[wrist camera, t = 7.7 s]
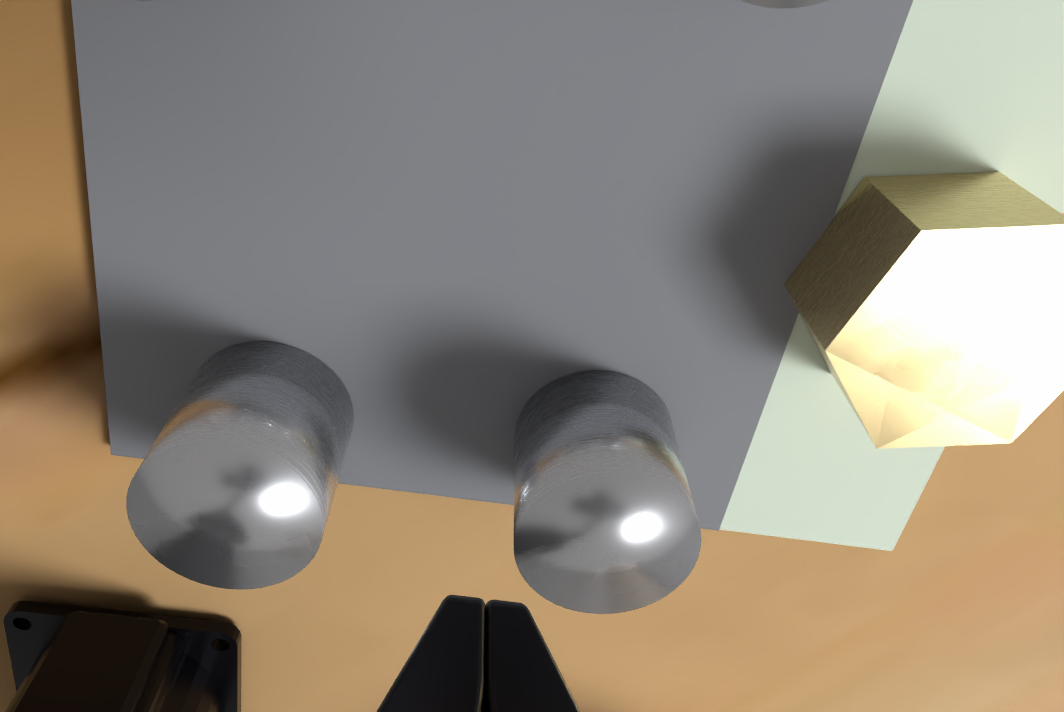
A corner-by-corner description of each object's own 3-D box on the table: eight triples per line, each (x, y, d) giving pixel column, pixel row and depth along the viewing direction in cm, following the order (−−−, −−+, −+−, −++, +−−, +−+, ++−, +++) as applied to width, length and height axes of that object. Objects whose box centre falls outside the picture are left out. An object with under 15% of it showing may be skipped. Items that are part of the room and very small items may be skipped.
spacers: (647, 521, 24) (668, 638, 20) (131, 457, 22) (60, 570, 19) (889, -258, 15) (1000, -288, 11) (65, -438, 14) (-89, -533, 10)
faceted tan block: (1009, 367, 21) (1078, 440, 19) (772, 377, 21) (809, 451, 19) (1065, 168, 19) (1155, 220, 16) (797, 179, 19) (843, 234, 16)
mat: (888, 544, 25) (892, 552, 24) (115, 447, 22) (111, 454, 22) (1265, -209, 16) (1278, -210, 15) (37, -482, 14) (28, -488, 13)
